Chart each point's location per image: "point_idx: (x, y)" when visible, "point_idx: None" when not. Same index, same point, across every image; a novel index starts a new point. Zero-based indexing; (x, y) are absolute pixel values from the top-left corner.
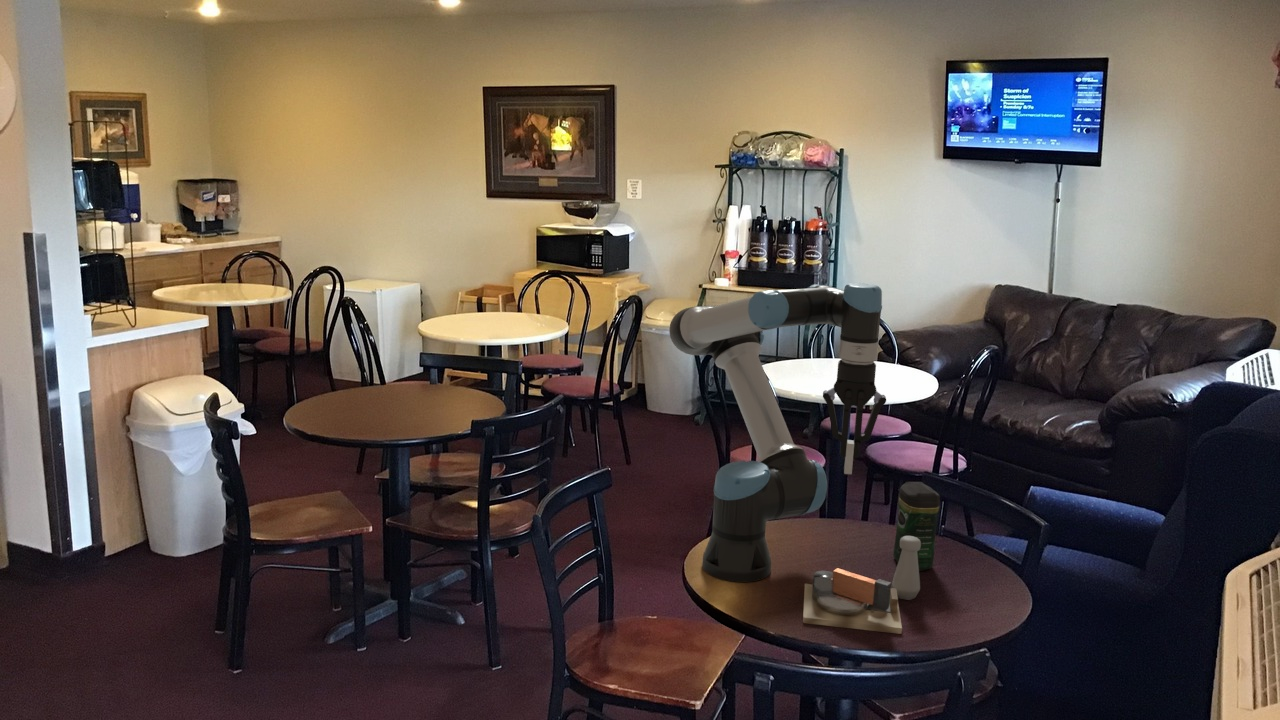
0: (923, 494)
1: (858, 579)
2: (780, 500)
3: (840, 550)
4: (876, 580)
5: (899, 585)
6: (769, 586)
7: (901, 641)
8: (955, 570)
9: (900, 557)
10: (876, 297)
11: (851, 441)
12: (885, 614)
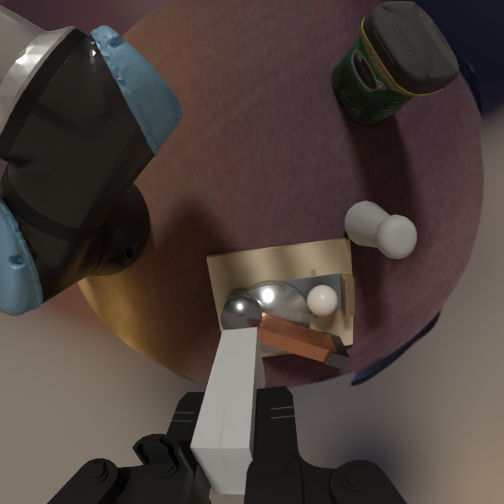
0: (438, 78)
1: (297, 354)
2: (87, 237)
3: (241, 78)
4: (326, 349)
5: (357, 243)
6: (159, 265)
7: (349, 356)
8: (418, 104)
9: (370, 238)
10: None
11: (234, 467)
12: (333, 316)
